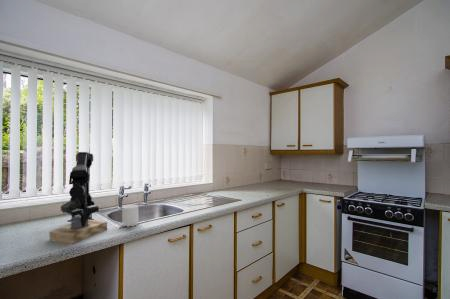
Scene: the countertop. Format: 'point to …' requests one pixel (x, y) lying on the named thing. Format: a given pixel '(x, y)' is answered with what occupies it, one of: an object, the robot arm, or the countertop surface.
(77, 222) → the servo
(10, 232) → the countertop surface
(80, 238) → the chassis board
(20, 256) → the countertop surface
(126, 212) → the mug
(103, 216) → the countertop surface
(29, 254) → the countertop surface
